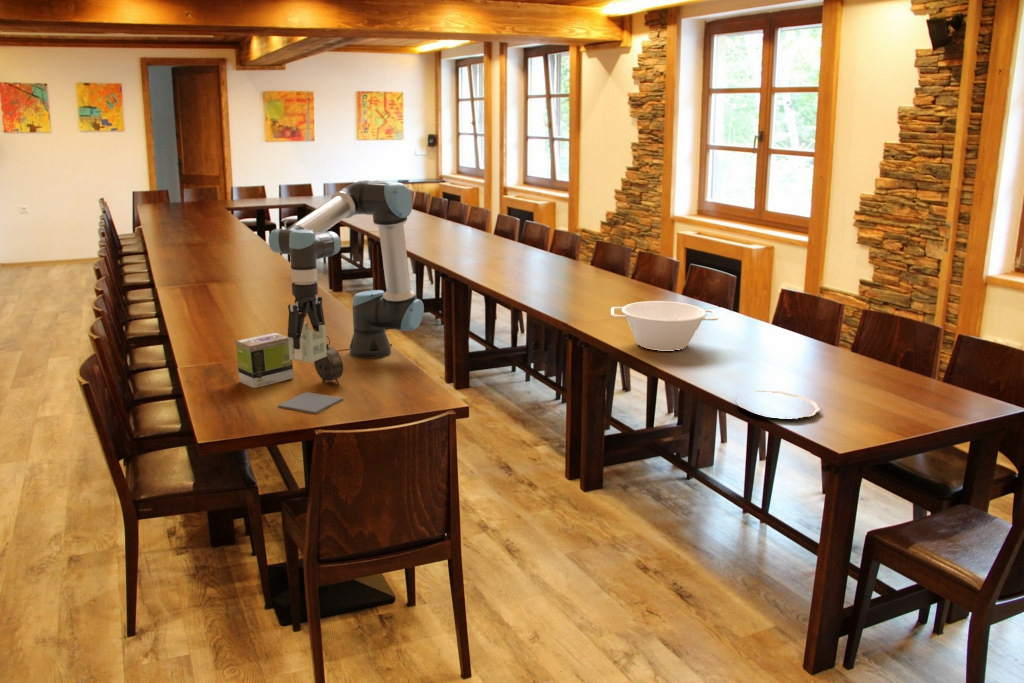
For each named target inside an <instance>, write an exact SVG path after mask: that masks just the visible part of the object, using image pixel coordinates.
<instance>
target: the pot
mask: <svg viewBox="0 0 1024 683" xmlns="http://www.w3.org/2000/svg"><path fill="white" fill-rule="evenodd" d="M615 310H621V312H622V313H623V315H622V314H615ZM707 313H711V314H713V317H712V318H711V317H706V316H707ZM610 316H611V317H613V318H625V319H626V321H627V323H628V325H629V326H628V327H629V328H630V330H631V333H632V334H633V335H632V336H633V337H634V340H635V343H636V344H637V346H639V345H640V346H643V347H646V348H651V349H659V350H677V349H682V348H684V349H686V348H687V347H688V346H689V343H690V342H691V340H692V338H693V337H694V336H695V333H696V331H697V330H698V329H699V328H700V325H701V323H702V321H718V320H719V316H718V314H717V312H716V311H715V310H711V309H703V308H702V307H699V306H697V305H693V304H689V303H685V302H677V301H669V300H667V301H666V300H645V301H637V302H632V303H629V304H626V305H624V306H612V307H611V308H610ZM640 346H639V347H640ZM686 346H687V347H686ZM685 347H686V348H685ZM682 350H683V349H682Z"/></svg>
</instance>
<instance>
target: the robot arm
mask: <svg viewBox="0 0 1024 683" xmlns="http://www.w3.org/2000/svg"><path fill="white" fill-rule="evenodd" d="M412 207H413V197H412V193H411V191H410V189H409V188H408V187H407V186H406V185H405V183H401V182H395V181H387V180H384V181H383V180H382V181H381V180H360V181H359V180H358V181H356V182H353V183H351V184H348V185H347V186H343V187H342V188H341V189H338V190H337V191H336V192H334V193H333V194H332V195H331V198H330V199H329V200H328V201H326V202H325V203H323V204H322V205H320V206H319V207H317V208H316V209H314V210H313V211H311V212H310V213H308V214H307V215H305V216H303V217H302V218H301V219H299V220H298V221H296V222H295V223H293V224H292V225H290V226H289V227H287V228H284V229H283V228H275V229H273V230H272V231H271V232H270V233H269V235H268V245H269V248H270V250H271V251H272V252H273V253H277V254H281V255H289V256H290V271H291V272H290V273H291V278H290V279H291V282H292V283H291V294H292V296H294V298H295V299H294V303H293V304H290V303H289V304H288V306H287V310H288V324H287V337H290V338H293V345H294V346H293V347H294V354H295V359H301V360H302V359H304V357H303V338H300V337H301V334H302V328H303V323H304V321H305V318H306V317H307V316H308V318H309V321H310V324H311V327H312V329H313V330H312V332H313V335H319V326H320V325H326V323H325V316H324V310H323V297H322V296H317V295H318V292H319V288H318V282H317V281H318V270H317V269H318V267H317V260H319V259H324V258H327V257H328V258H330V257H332V256H334V255H337V254H338V253H339V252H340V250H341V248H342V241H341V237H340V236H339V235H338V234H337V233H336V232H334V231H332V230H330V229H331V228H332V227H334V226H335V225H336V224H338V223H339V222H341V221H342V220H344V219H349V218H352V217H353V216H356V215H358V216H359V215H367V216H372V220H373V224H374V225H375V226H376V227H377V228H378V232H379V233H378V234H379V241H380V248H381V249H380V250H381V256H382V265H383V271H384V272H383V275H384V281H385V288H386V291H384V290H382V289H377V290H376V289H373V290H365V291H360V292H358V293H356V294H354V295H353V297H352V303H351V304H352V306H351V307H352V321H353V322H352V324H353V333H352V337H351V341H350V345H349V356H352V357H353V358H361V359H376V358H384V357H385V356H389V355H390V354H391V353H392V348H391V347H392V346H391V344H390V341H389V338H388V335H387V332H386V329H389V330H391V329H392V330H397V331H403V332H404V331H407V332H412V331H414V330H416V329H418V328H419V326H420V324H421V322H422V320H423V318H424V312H425V307H424V302H423V301H422V300H421V299H419V298H417V295H416V294H417V293H416V291H415V290H414V289H413V288H412V286H411V279H410V270H409V261H408V253H407V251H408V250H407V245H406V244H407V243H406V237H405V236H406V235H405V226H404V224H406V222H407V221H408V217H409V216H410V215H411V213H412V212H413V211H412V210H413V209H412ZM328 230H330V231H328ZM313 349H320V344H318V345H316V346H313Z"/></svg>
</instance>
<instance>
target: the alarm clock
mask: <svg viewBox="0 0 1024 683" xmlns="http://www.w3.org/2000/svg"><path fill="white" fill-rule="evenodd" d="M326 338H327V339H328V341H329V342H328V343H326V347H327V356H326V357H324V358H321V359H319V360H317V361H314V362H313V363H314V364H313V365H314V368H315V370H316V373H317V375H318V376H319V377H320V378H321V379H322V384H321V385H324V384H325V382H331V381H335V383H336V384H337V386H340V383H339V380H338V379H340V378H341V377H342V376H343V372H344V362H343V359H342V356H341V355H340V353H339V351H337V349H335V348H334V347H332V346H330V344H331V339H330V337H329V336H328V335H326Z"/></svg>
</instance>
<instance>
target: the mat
mask: <svg viewBox="0 0 1024 683" xmlns="http://www.w3.org/2000/svg"><path fill="white" fill-rule="evenodd" d="M342 401H344V399H343V397H339V396H334V395H333V396H332V395H326V394H321V393H314V392H310V391H304V392H303V393H301V394H299V395H297V396H295V397H291V399H289V400H286V401H284V402H282V403H280V404H278V406H277V407H278V408H281V409H286V410H287V409H288V410H292V411H293V410H294V411H296V412H297V411H298V412H303V413H307V414H308V413H309V414H314V415H317V414H319V413H320V412H321V413H322V412H323V411H325V410H326V409H328V408H330V407H332V406H334V405H336V404H338V403H340V402H342Z"/></svg>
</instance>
